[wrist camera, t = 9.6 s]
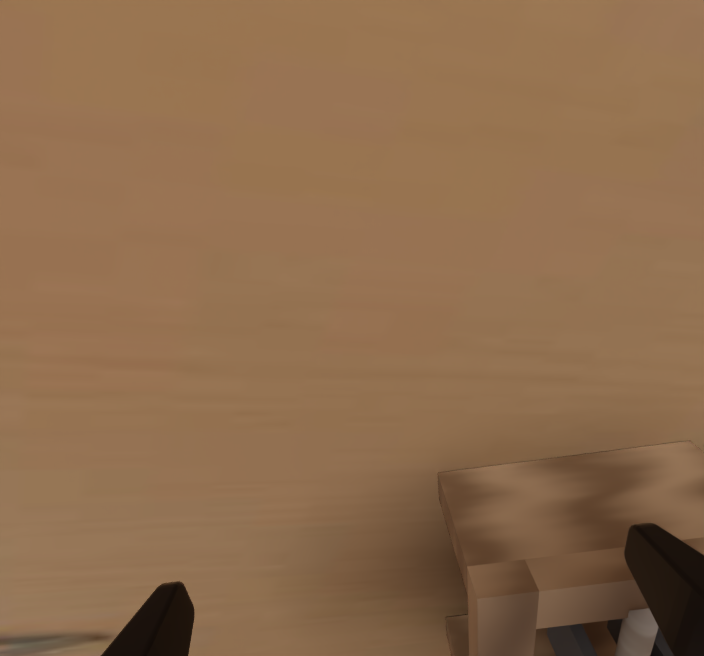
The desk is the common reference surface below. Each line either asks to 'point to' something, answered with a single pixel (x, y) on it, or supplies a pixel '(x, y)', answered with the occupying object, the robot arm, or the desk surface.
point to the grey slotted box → (577, 649)
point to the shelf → (564, 545)
